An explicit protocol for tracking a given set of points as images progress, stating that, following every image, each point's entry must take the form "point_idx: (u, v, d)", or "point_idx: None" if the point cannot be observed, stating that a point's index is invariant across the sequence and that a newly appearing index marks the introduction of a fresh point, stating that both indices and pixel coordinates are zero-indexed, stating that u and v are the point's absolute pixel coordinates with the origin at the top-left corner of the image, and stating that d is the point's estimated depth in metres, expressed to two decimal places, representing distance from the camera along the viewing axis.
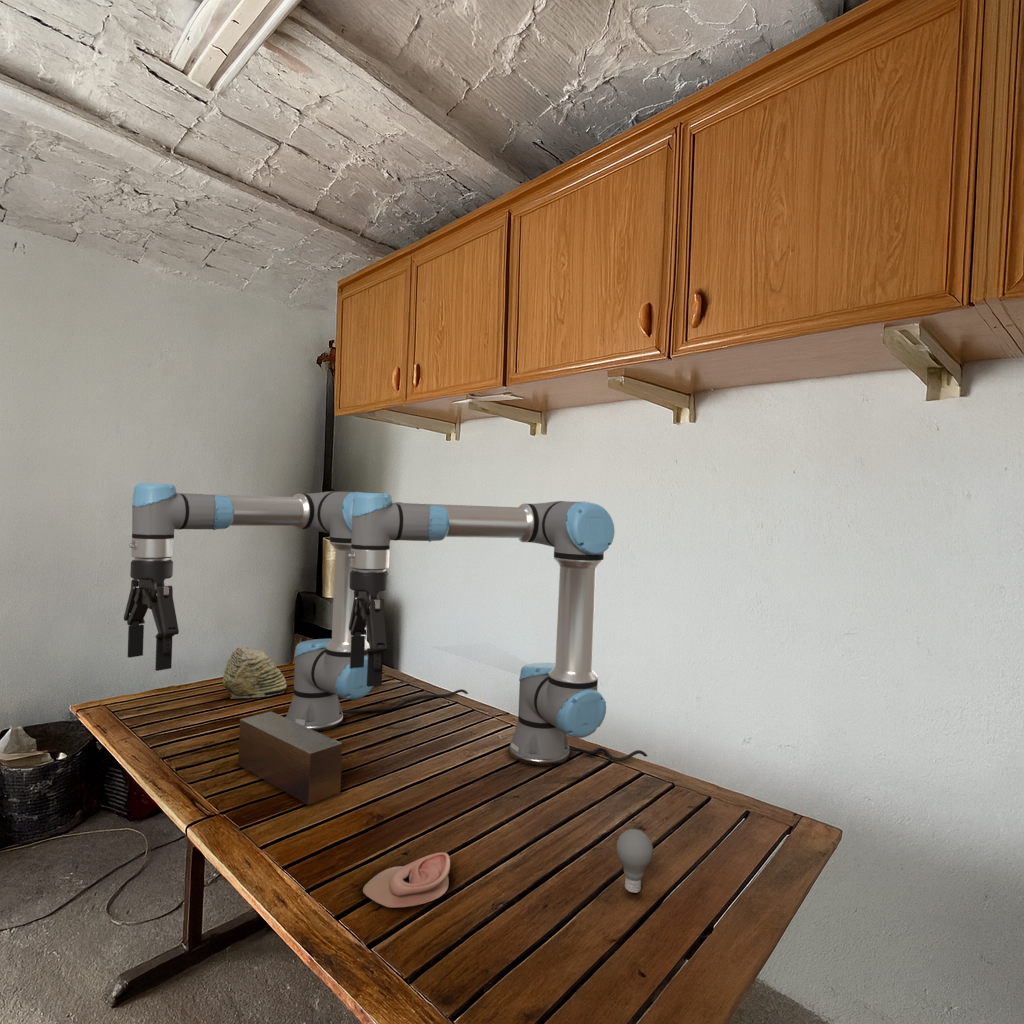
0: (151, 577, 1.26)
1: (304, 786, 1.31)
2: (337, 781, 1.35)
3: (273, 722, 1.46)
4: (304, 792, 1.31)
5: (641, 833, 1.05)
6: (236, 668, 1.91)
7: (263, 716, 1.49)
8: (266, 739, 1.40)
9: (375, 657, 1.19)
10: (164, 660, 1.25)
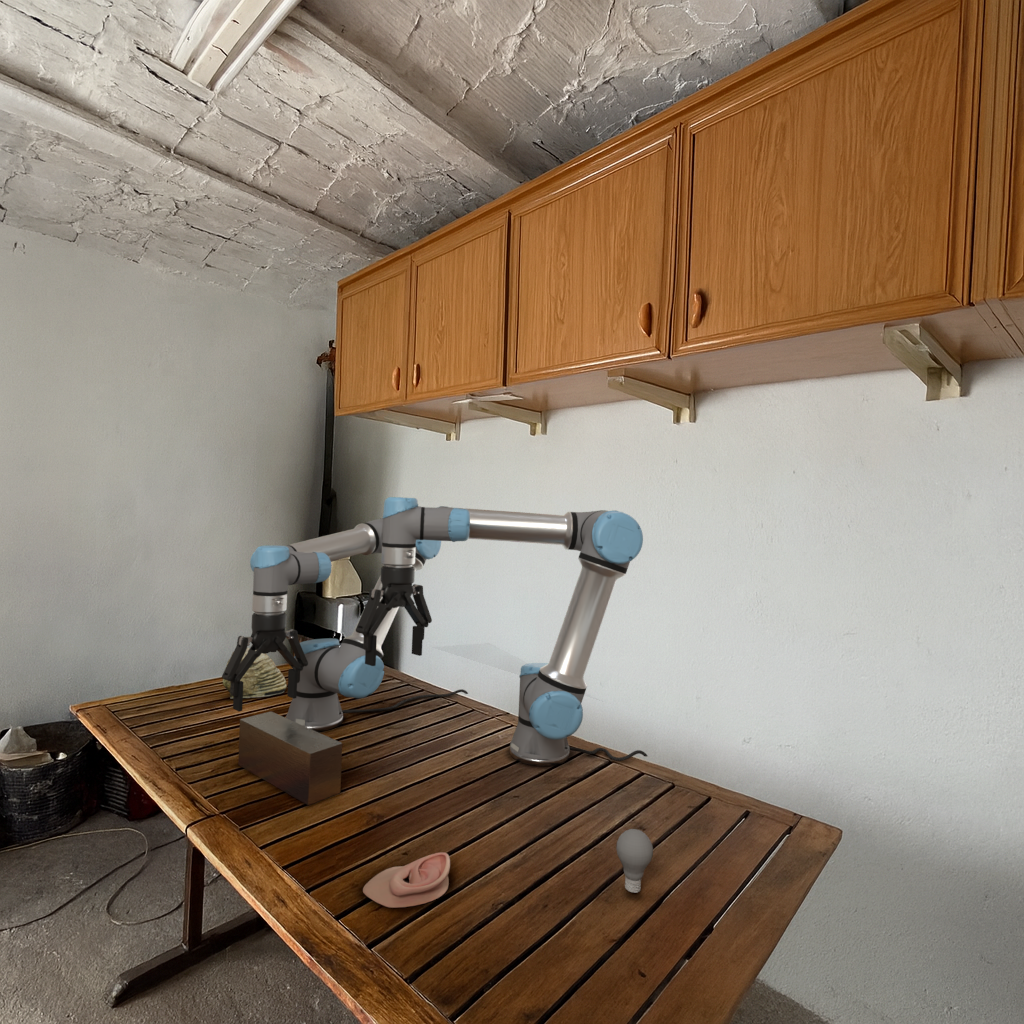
0: None
1: (304, 786, 1.31)
2: (337, 781, 1.35)
3: (273, 722, 1.46)
4: (304, 792, 1.31)
5: (641, 833, 1.05)
6: None
7: (263, 716, 1.49)
8: (266, 739, 1.40)
9: None
10: None
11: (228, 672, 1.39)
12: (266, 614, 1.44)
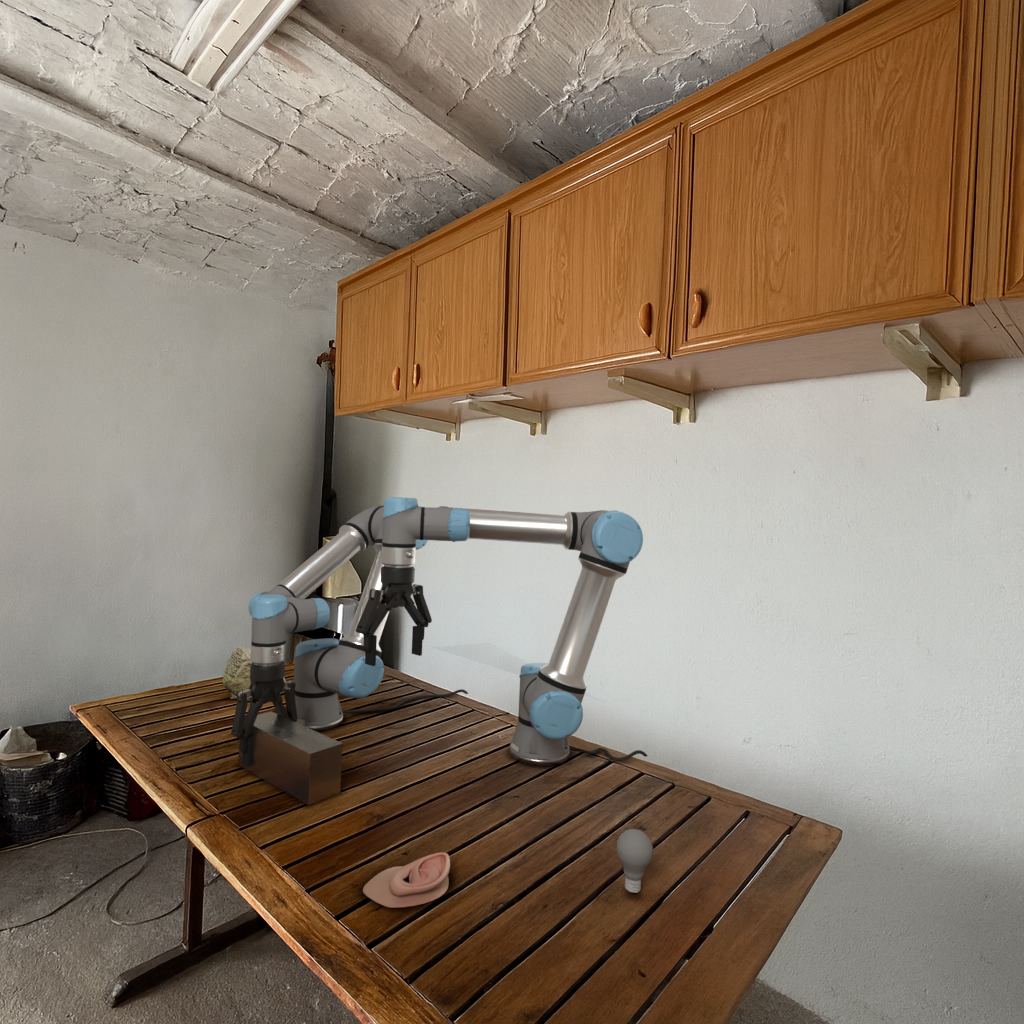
0: None
1: (304, 786, 1.31)
2: (337, 781, 1.35)
3: (273, 722, 1.46)
4: (304, 792, 1.31)
5: (641, 833, 1.05)
6: (236, 668, 1.91)
7: (263, 716, 1.49)
8: (266, 739, 1.40)
9: None
10: None
11: (236, 729, 1.41)
12: (264, 665, 1.44)
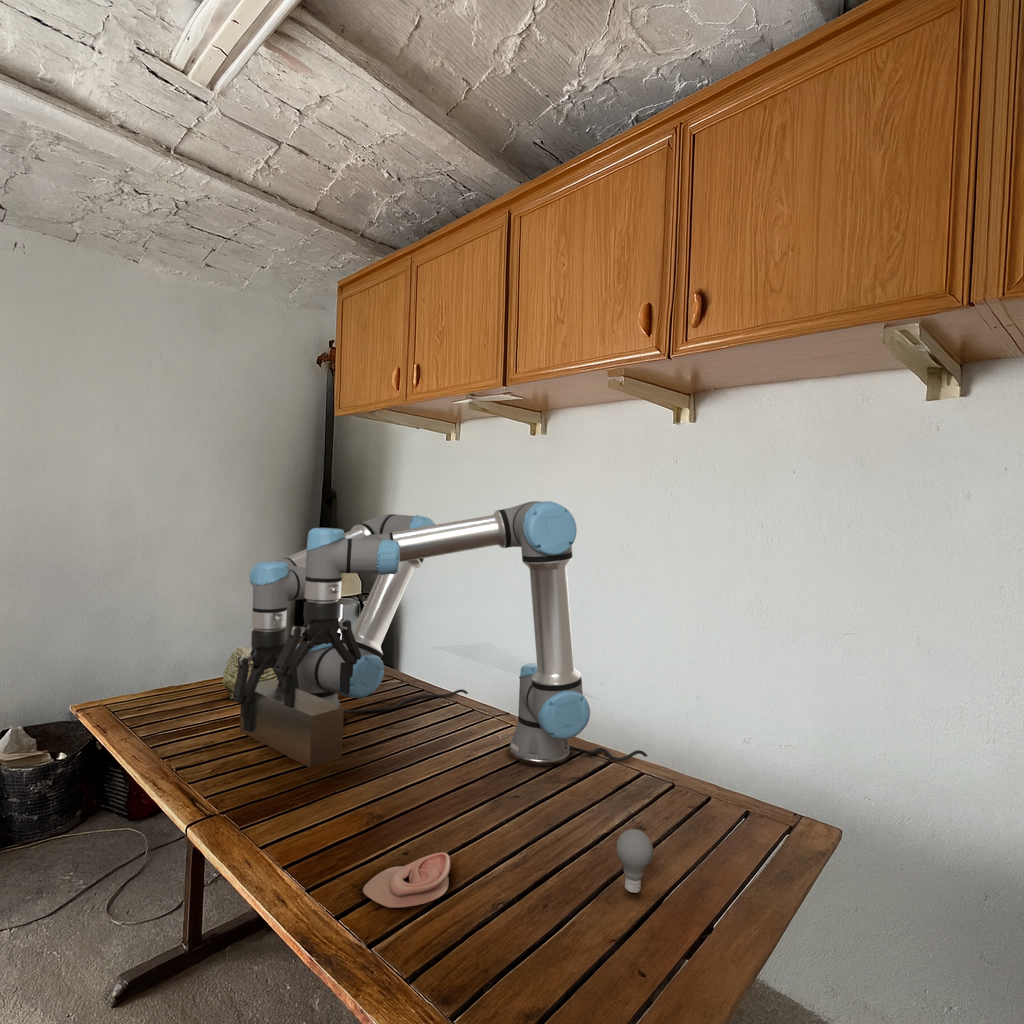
0: None
1: (305, 749, 1.31)
2: (339, 744, 1.35)
3: (275, 688, 1.46)
4: (305, 754, 1.31)
5: (641, 833, 1.05)
6: (236, 668, 1.91)
7: (265, 683, 1.49)
8: (268, 704, 1.40)
9: None
10: None
11: (237, 694, 1.41)
12: (266, 631, 1.44)
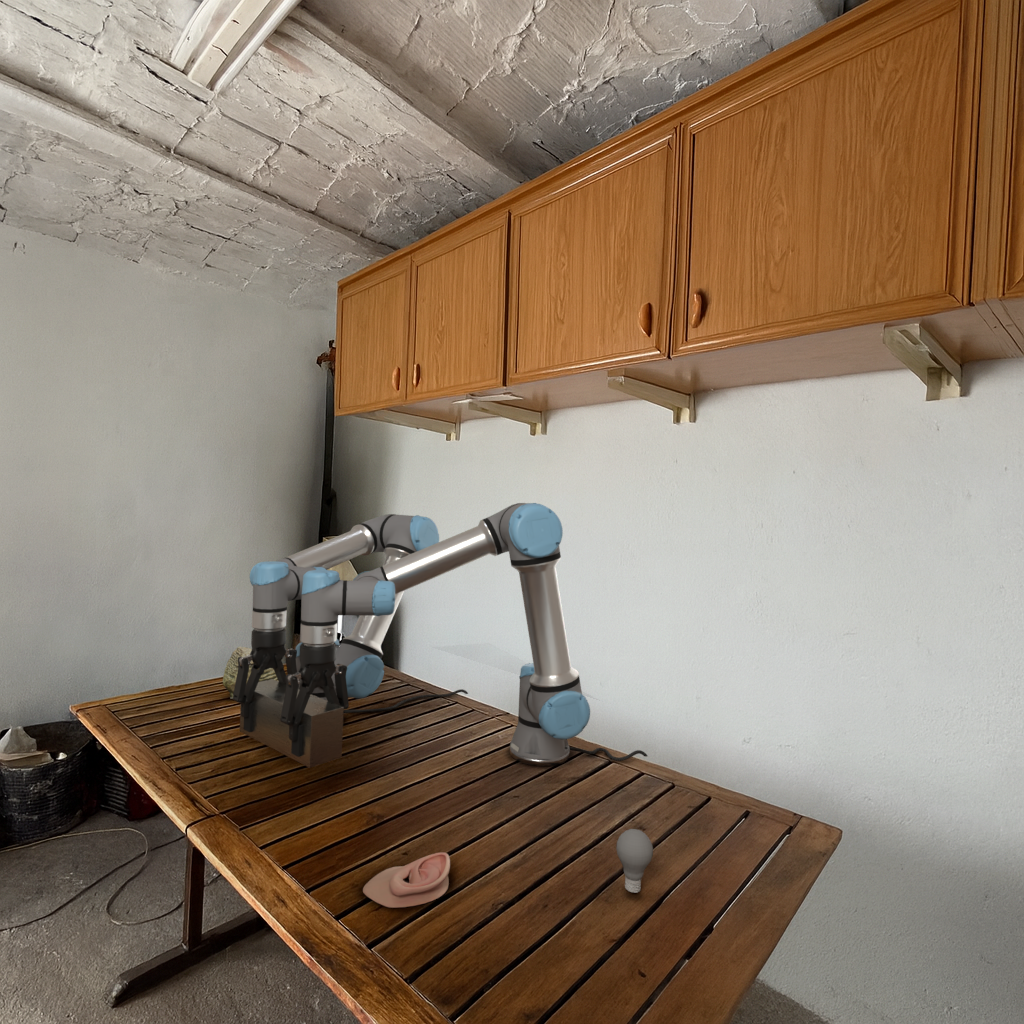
0: None
1: (305, 749, 1.31)
2: (339, 744, 1.35)
3: (275, 688, 1.46)
4: (305, 755, 1.31)
5: (641, 833, 1.05)
6: (236, 668, 1.91)
7: (265, 683, 1.49)
8: (268, 704, 1.40)
9: None
10: None
11: (237, 694, 1.41)
12: (266, 631, 1.44)
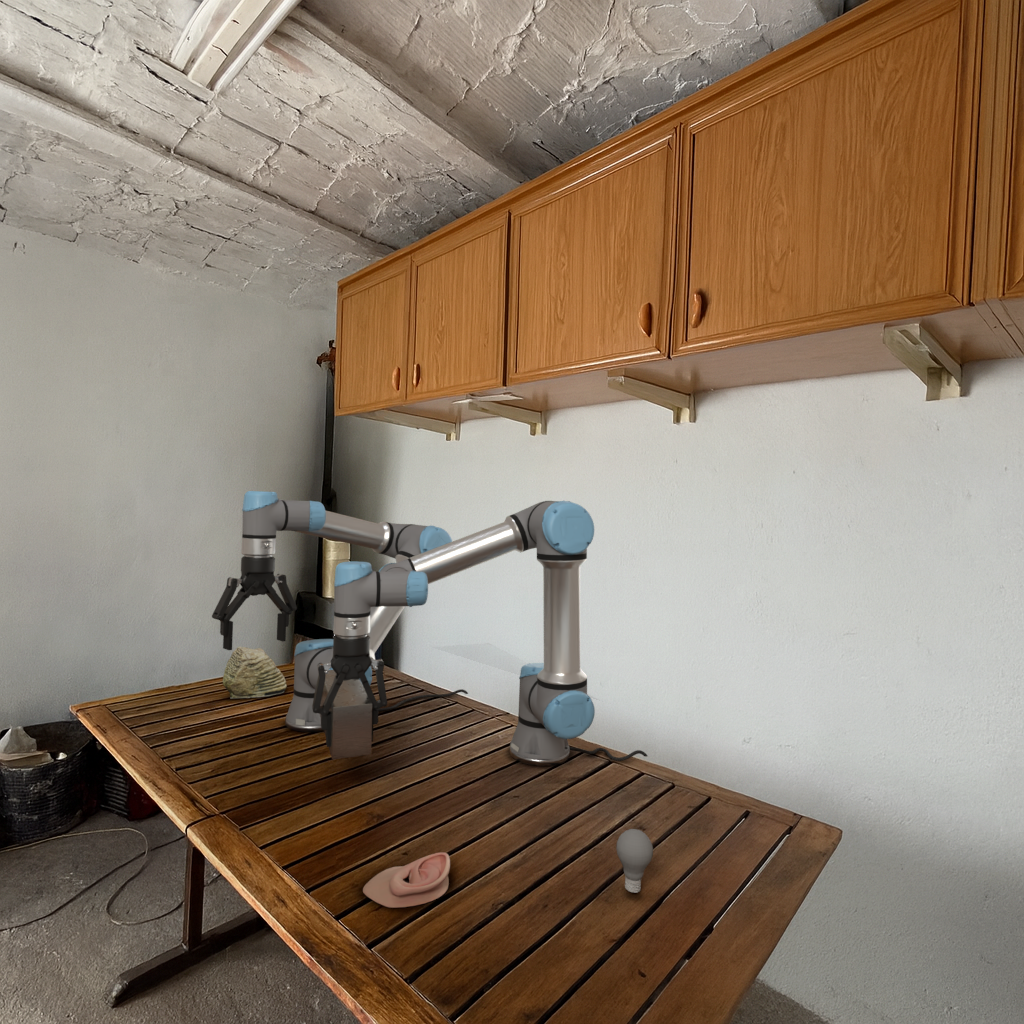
0: None
1: (331, 740, 1.30)
2: (367, 742, 1.32)
3: None
4: (331, 746, 1.30)
5: (641, 833, 1.05)
6: (236, 668, 1.91)
7: None
8: None
9: None
10: None
11: (218, 611, 1.43)
12: (255, 556, 1.48)
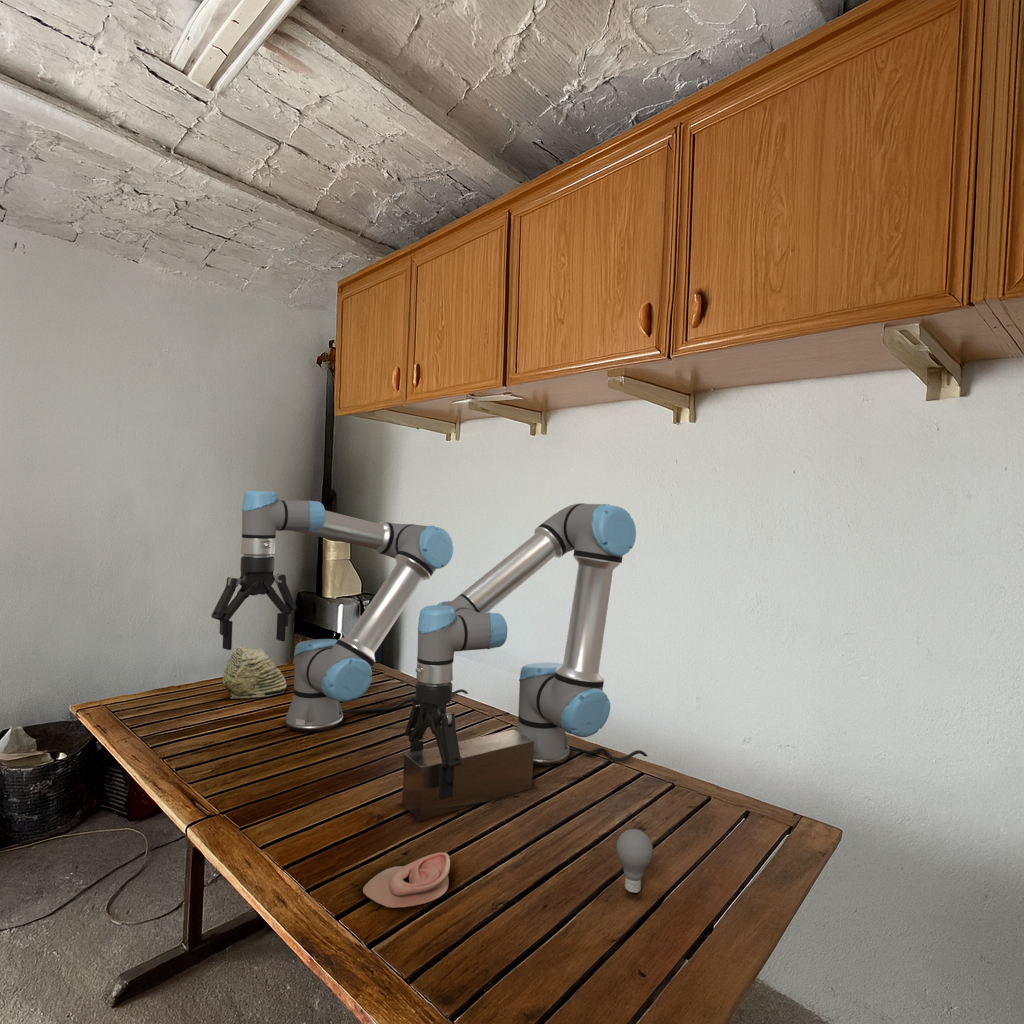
0: None
1: None
2: (418, 805, 1.26)
3: (499, 741, 1.40)
4: None
5: (641, 833, 1.05)
6: (236, 668, 1.91)
7: (516, 737, 1.43)
8: None
9: (449, 771, 1.24)
10: None
11: (217, 611, 1.43)
12: (254, 556, 1.48)
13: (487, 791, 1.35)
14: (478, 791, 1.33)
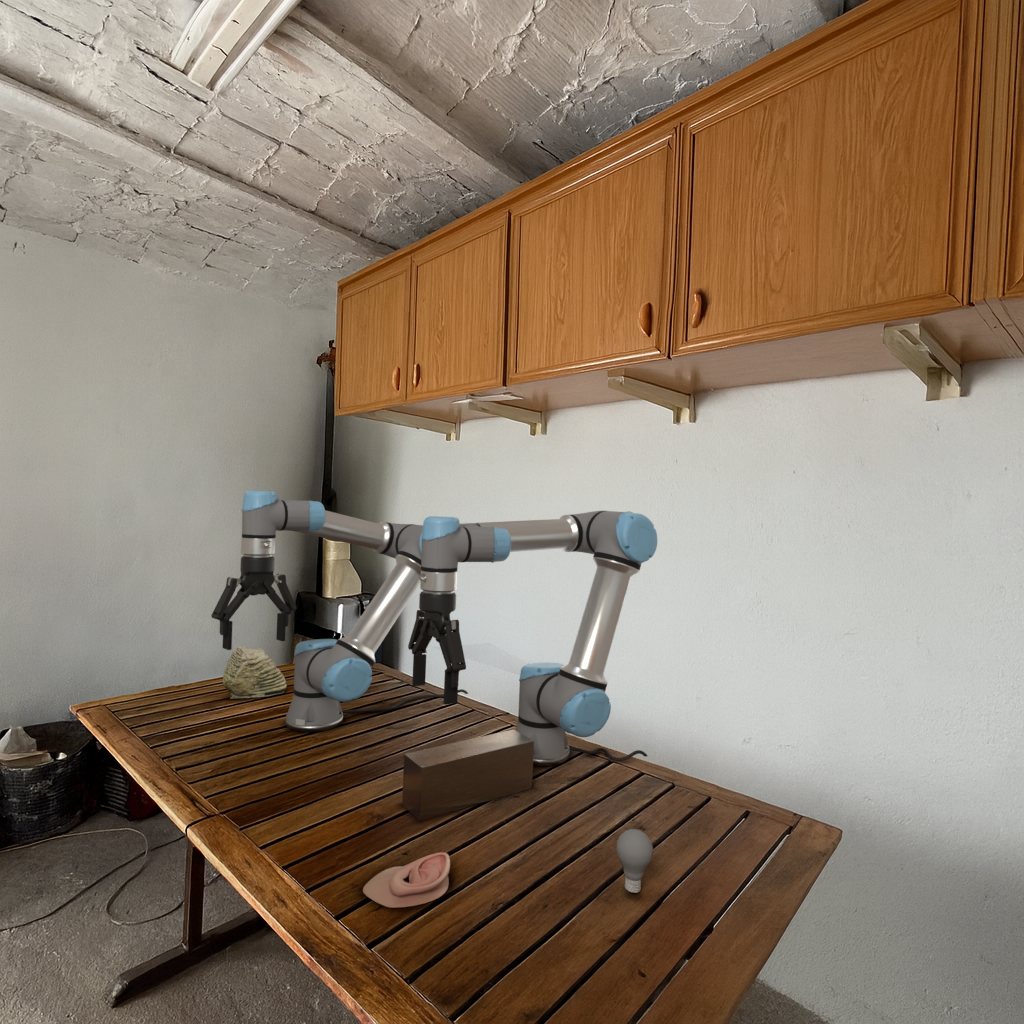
0: None
1: None
2: (418, 805, 1.26)
3: (499, 741, 1.40)
4: None
5: (641, 833, 1.05)
6: (236, 668, 1.91)
7: (516, 737, 1.43)
8: None
9: (453, 676, 1.24)
10: None
11: (217, 611, 1.43)
12: (254, 556, 1.48)
13: (487, 791, 1.35)
14: (478, 791, 1.33)
